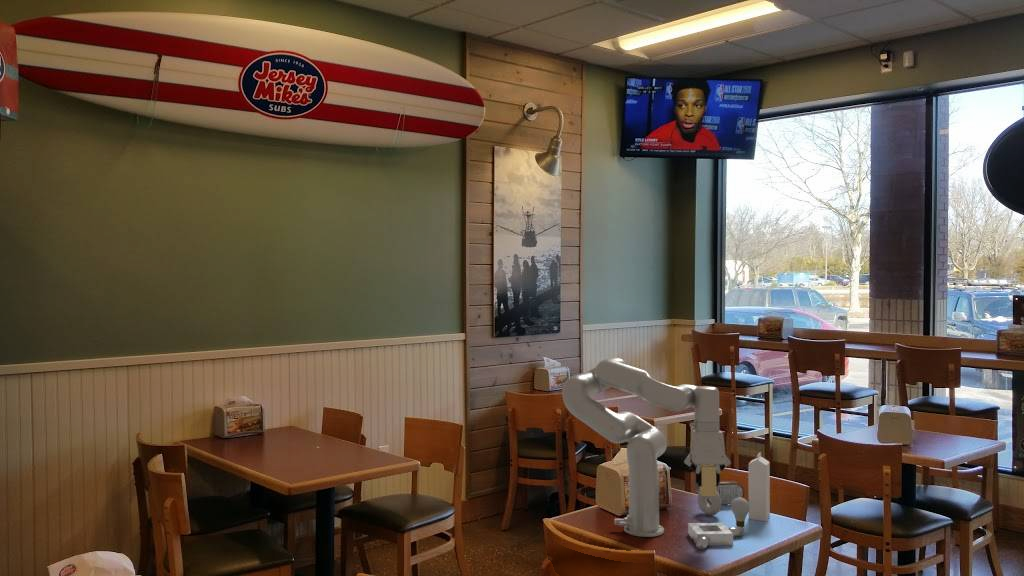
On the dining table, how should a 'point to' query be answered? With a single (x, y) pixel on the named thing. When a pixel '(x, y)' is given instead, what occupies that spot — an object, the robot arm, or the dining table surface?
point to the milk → (759, 488)
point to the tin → (728, 491)
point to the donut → (706, 507)
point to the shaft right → (737, 531)
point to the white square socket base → (711, 533)
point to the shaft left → (703, 542)
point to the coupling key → (708, 480)
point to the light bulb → (740, 510)
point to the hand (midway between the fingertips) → (707, 484)
